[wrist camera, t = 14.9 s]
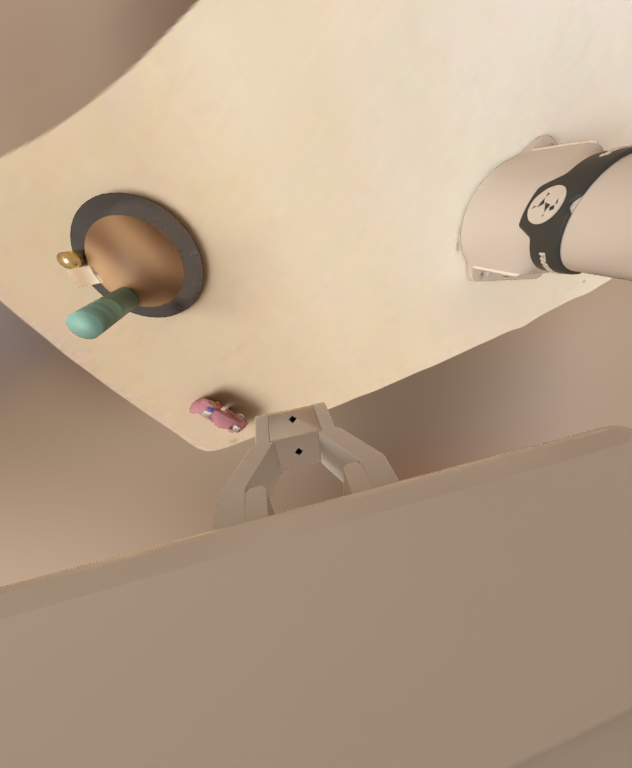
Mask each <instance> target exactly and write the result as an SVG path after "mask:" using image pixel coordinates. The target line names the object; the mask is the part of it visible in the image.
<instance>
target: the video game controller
mask: <svg viewBox="0 0 632 768" xmlns="http://www.w3.org/2000/svg"><path fill="white" fill-rule="evenodd" d="M221 408H222V406H221V405H220V403H219V402H218V401H216V402H215V401H213V400H209V399H206V398H203V399H199V400H196V401H195V402H193V403H192V405H191V406H190V412H191V413H199V414H200V415H202V416H203V417H205V418H206V419H208V420H210V421H211V422H213V423H214V425H216V426H217V427H219V428H223V429H228V430H229V431H230V432H237V433H238V432H240V431H242V430H243V429H244V428H245V427H246V425H247V424H248V423H247V421H245V420H244V418H245V416H244V415H243V414H239V415H240V416H239V415H237V414H235V413H234V412H233V411H231V410H229V409H227V408H226V410H225V411H222V410H220V409H221ZM243 417H244V418H243Z"/></svg>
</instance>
